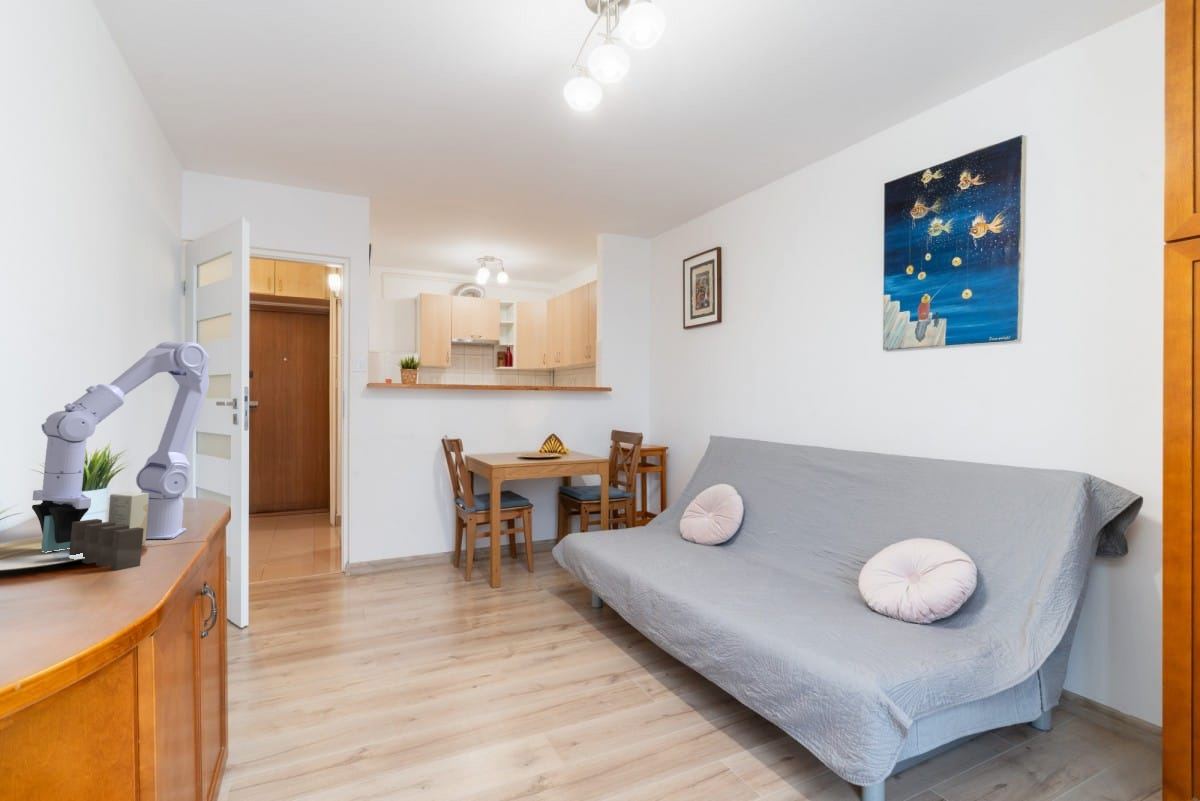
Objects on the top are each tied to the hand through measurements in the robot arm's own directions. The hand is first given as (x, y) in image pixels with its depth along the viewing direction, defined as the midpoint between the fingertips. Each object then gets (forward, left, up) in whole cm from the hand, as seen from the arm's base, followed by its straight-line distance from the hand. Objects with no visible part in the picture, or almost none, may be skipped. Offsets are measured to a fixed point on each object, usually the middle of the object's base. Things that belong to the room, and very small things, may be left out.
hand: (57, 540), depth 113 cm
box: (-3, +10, -2) cm, 11 cm away
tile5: (+13, +16, -2) cm, 21 cm away
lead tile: (0, 0, -2) cm, 2 cm away
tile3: (+8, +10, -2) cm, 13 cm away
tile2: (+6, +6, -2) cm, 9 cm away
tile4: (+11, +13, -2) cm, 17 cm away
